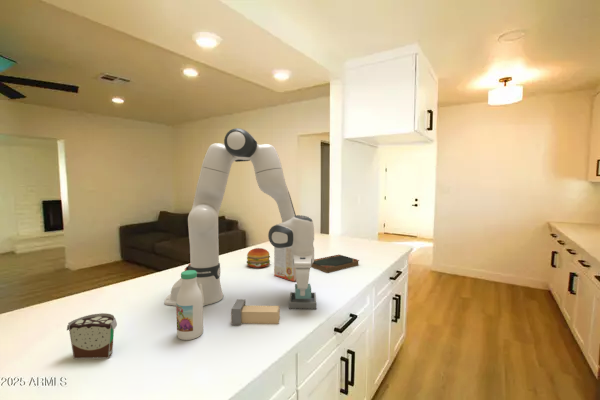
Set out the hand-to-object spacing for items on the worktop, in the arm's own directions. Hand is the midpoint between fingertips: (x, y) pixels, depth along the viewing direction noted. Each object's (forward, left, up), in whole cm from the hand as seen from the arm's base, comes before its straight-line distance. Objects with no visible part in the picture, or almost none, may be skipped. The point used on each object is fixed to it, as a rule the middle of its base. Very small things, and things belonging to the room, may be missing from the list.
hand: (302, 292), depth 114 cm
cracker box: (-8, +31, -5) cm, 32 cm away
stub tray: (0, 0, -5) cm, 5 cm away
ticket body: (-16, -14, -5) cm, 22 cm away
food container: (-57, -34, -5) cm, 67 cm away
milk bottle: (-35, -24, -5) cm, 43 cm away
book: (+17, +52, -5) cm, 55 cm away
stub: (0, 0, -2) cm, 2 cm away
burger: (-26, +51, -5) cm, 57 cm away
